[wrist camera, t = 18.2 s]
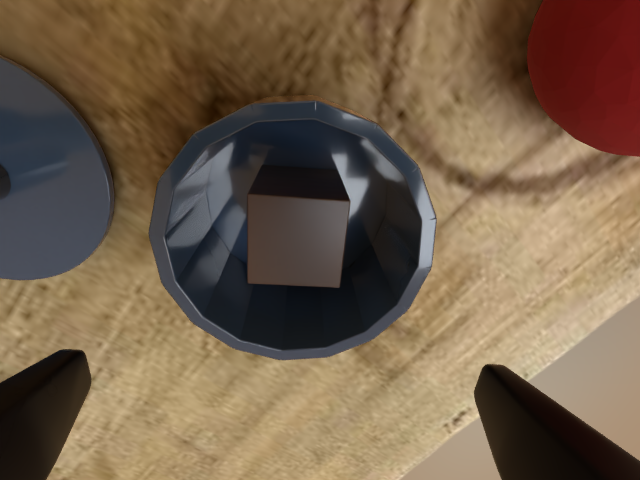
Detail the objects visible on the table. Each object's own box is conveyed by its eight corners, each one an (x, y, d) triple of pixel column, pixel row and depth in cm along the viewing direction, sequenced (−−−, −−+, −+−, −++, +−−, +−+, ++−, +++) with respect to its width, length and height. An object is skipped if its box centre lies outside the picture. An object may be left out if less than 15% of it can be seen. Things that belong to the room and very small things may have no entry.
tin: (260, 309, 22) (244, 390, 16) (157, 154, 18) (86, 188, 12) (420, 241, 21) (467, 304, 15) (349, 54, 16) (375, 38, 11)
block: (260, 235, 20) (247, 284, 15) (261, 164, 18) (246, 193, 13) (331, 239, 20) (340, 288, 15) (338, 169, 18) (351, 200, 13)
